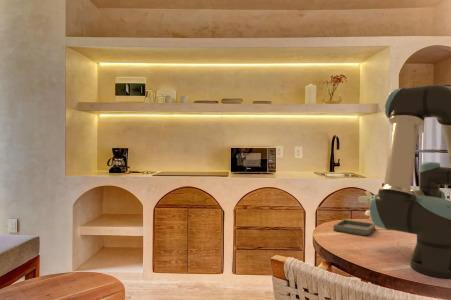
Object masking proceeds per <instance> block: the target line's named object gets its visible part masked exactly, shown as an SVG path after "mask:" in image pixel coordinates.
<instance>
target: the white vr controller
mask: <svg viewBox="0 0 451 300" xmlns="http://www.w3.org/2000/svg"><path fill="white" fill-rule="evenodd" d="M364 193H365V194H366V195H365V196H368V197H369V198H372V195H373V194H372V193H371V192H370V191H369V190H365V192H364ZM364 216H367V217H371V215H370V209H366V211H364Z"/></svg>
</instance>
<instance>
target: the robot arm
mask: <svg viewBox="0 0 451 300" xmlns="http://www.w3.org/2000/svg"><path fill="white" fill-rule="evenodd" d="M384 109H385V110H384V114H385V116H386V117H387V119H388V121H389V123H390V124H391V125H392V129H391V136H390V144H389V148H388V157H387V162H386V169H385V176H384V181H383V182H384V183H383V186H382V187H380V188H378V194H371V195H372V198H369V197H368V196H367V195H362V196H361V195H359V196H357V198H358V199H357V200H358V202H357V203H359V204H360V203H361V204H365V205H366V206H369V210H370V215H371V216H370V218H371V222H372V223H374V224H375V227H378V228H381V229H386V230H388V231H396V232H399V233H400V232H401V233H407V234H413V235H416V245H415V246H414V248H413V249H414V250H413V252H412V255H411V257H410V260H409V261H410V264H409V265H410V267H411V269H413V270H414V271H416V272H418V273H421V274H423V275H427V276H430V277H434V278H440V279H450V278H451V200H449V199H446V198H447V197H446V196H445V192H444V191H442V190H441V189H440V186H451V167H447V166H446V167H445V166H441V164H440V162H438V161H437V162H433V161H422V162H421V163H420V165H419V166H420V167H419V173H418V174H419V188H418V189H411V187H412V180H413V173H414V172H413V170H414V164H415V163H414V162H415V156H416V150H417V141H418V136H419V135H418V133H419V128H420V127H421V126H423V125H424V122H425V118H436V121H437V123H438V124H439V125H441V129H442V132H443V138H444V142H445V146H446V150H447V155H448V158H449V165H450V166H451V88H450V87H448V86H445V85H443V84H431V85H422V86H421V85H420V86H410V87H401V88H395V89H393V90H391V91H390V92H389V94H387V97H386V100H385V104H384Z"/></svg>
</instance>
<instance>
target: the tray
mask: <svg viewBox="0 0 451 300" xmlns="http://www.w3.org/2000/svg"><path fill="white" fill-rule="evenodd" d="M375 229H376V225H375V224H374V223H373V222H367V221H366V222H365V221H359V220H349V219H342V220H340V221H338V222H337V223H335V224H333V231H335V232H341V233H347V234H353V235H359V236H360V235H361V236H366V237H368V236H369V235H370V234H371V233H372V232H373V231H375Z"/></svg>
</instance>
